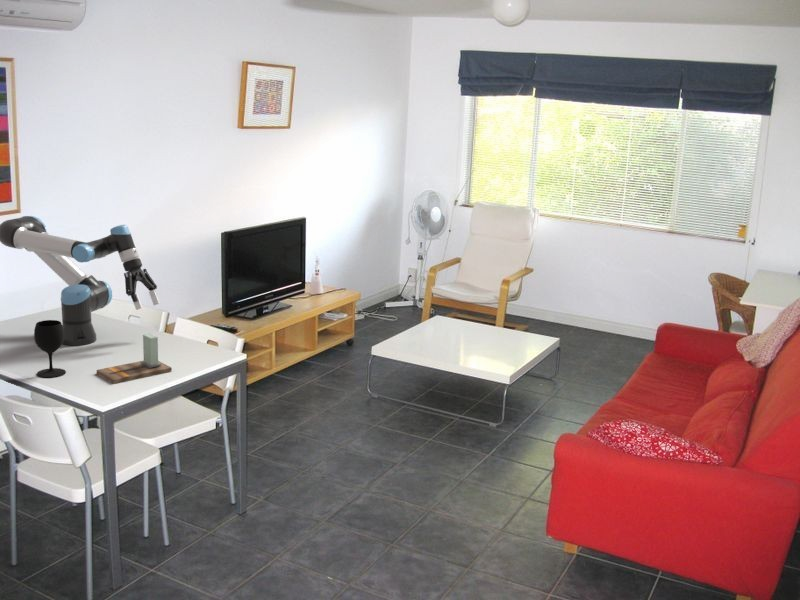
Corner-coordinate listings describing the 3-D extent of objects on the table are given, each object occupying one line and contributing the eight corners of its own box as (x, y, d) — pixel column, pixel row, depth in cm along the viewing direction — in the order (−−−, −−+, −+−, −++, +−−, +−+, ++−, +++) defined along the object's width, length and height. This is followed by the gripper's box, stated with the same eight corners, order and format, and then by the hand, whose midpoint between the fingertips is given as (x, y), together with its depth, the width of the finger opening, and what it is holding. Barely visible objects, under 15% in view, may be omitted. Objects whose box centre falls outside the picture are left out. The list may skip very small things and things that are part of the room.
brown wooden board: (113, 383, 310) (113, 379, 310) (96, 373, 320) (96, 369, 319) (171, 371, 327) (171, 367, 326) (154, 362, 336) (153, 358, 336)
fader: (149, 367, 324) (148, 339, 321) (140, 363, 328) (139, 334, 325) (161, 365, 327) (160, 337, 324) (152, 360, 332) (151, 332, 329)
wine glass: (62, 378, 314) (59, 327, 309) (33, 378, 312) (30, 327, 307) (68, 369, 323) (66, 319, 319) (40, 369, 322) (37, 319, 317)
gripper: (121, 259, 345) (139, 307, 346) (153, 255, 369) (170, 300, 369) (106, 265, 347) (124, 313, 348) (140, 260, 371) (156, 305, 372)
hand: (148, 306), depth 359 cm, fingers open, 13 cm apart
